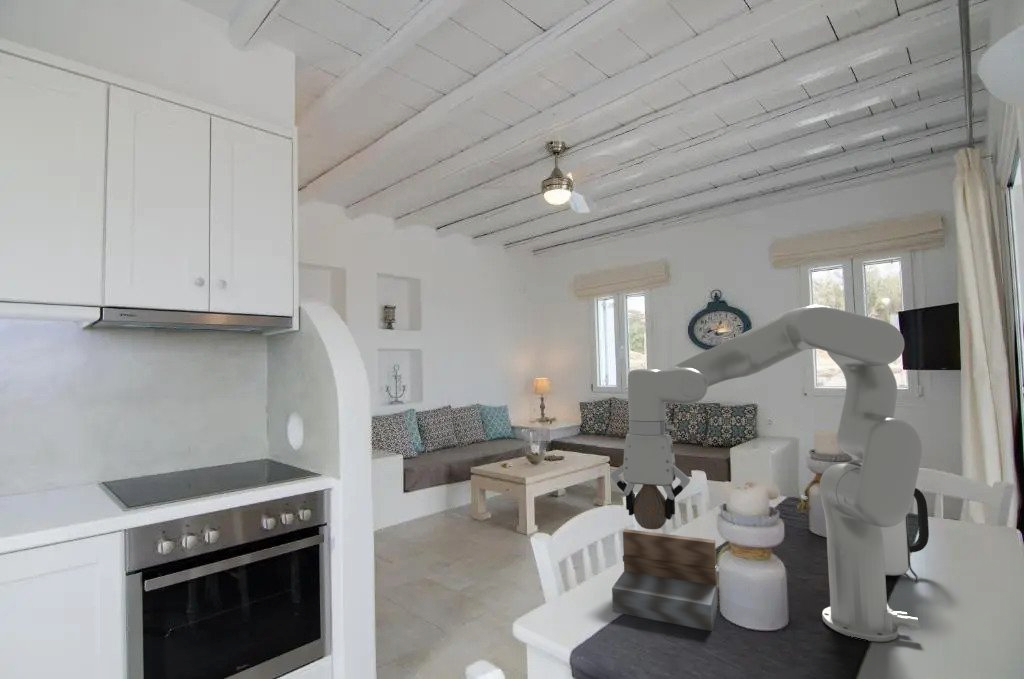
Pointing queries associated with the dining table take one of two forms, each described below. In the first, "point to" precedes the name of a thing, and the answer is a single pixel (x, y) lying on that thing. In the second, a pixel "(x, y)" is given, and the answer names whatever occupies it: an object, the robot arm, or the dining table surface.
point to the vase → (650, 507)
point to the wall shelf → (668, 579)
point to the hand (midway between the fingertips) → (650, 515)
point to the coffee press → (903, 538)
